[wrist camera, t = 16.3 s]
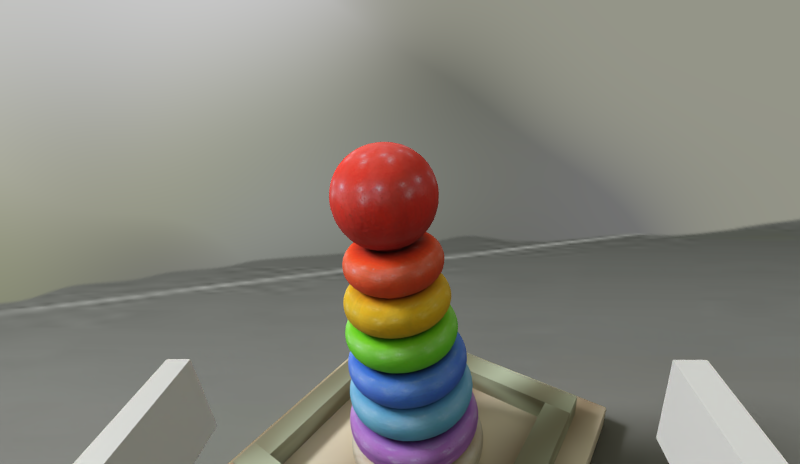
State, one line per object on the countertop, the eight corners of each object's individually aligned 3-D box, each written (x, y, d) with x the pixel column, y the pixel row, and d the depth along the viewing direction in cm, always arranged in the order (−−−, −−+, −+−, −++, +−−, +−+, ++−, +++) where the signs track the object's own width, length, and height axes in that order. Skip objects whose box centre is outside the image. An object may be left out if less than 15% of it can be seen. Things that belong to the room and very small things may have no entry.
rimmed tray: (603, 424, 27) (608, 390, 26) (478, 785, 15) (477, 752, 13) (391, 335, 38) (387, 308, 36) (210, 501, 25) (195, 468, 24)
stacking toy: (482, 398, 28) (478, 121, 21) (484, 518, 21) (479, 165, 13) (371, 391, 30) (328, 131, 22) (338, 502, 23) (258, 175, 15)
